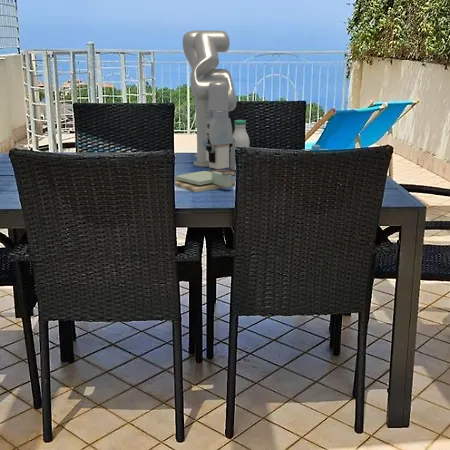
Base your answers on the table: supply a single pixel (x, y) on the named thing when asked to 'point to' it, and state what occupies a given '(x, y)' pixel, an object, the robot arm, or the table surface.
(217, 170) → the mat
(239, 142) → the milk bottle
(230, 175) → the green piece
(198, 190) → the stand
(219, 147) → the box with copper trim
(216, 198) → the table surface
